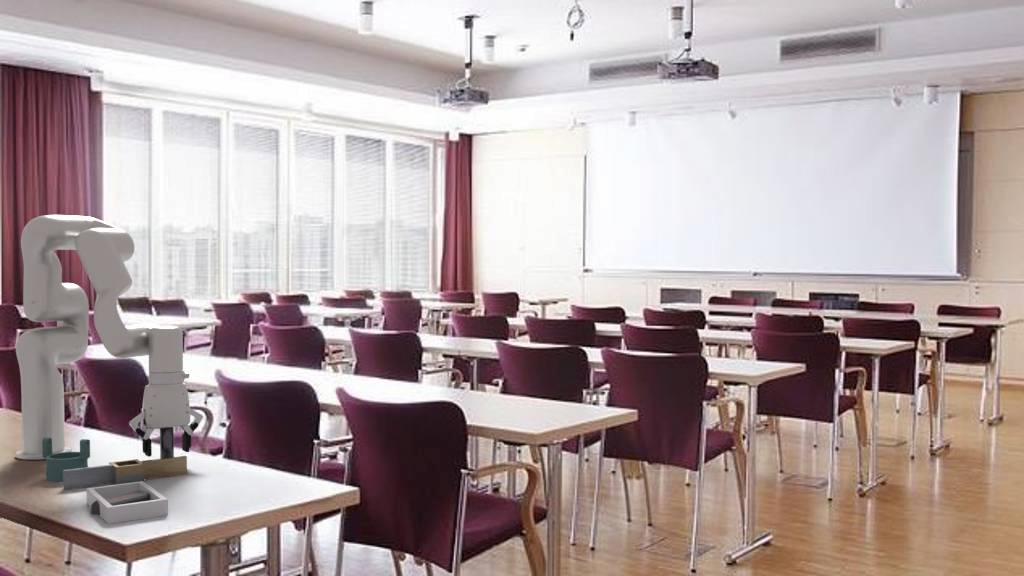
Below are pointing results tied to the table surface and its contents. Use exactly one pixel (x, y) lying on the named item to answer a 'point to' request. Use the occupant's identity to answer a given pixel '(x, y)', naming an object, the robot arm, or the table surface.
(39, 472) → the table surface
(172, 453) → the hinge pin
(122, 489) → the parts tray frame
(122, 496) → the usb flash stick
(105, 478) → the hinge
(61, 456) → the teal round tub
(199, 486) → the table surface
